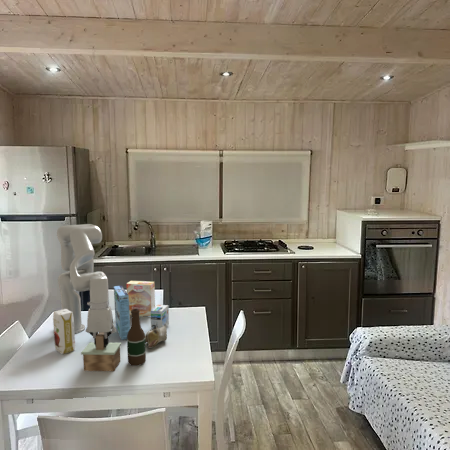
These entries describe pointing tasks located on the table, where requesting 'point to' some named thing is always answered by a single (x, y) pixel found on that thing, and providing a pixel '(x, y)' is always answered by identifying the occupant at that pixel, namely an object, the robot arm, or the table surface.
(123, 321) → the gum box
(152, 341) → the ceramic sculpture
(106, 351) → the lid
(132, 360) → the beer bottle
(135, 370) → the table surface
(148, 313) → the coffeecake box
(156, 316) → the light bulb box
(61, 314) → the juice carton
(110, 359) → the crate
